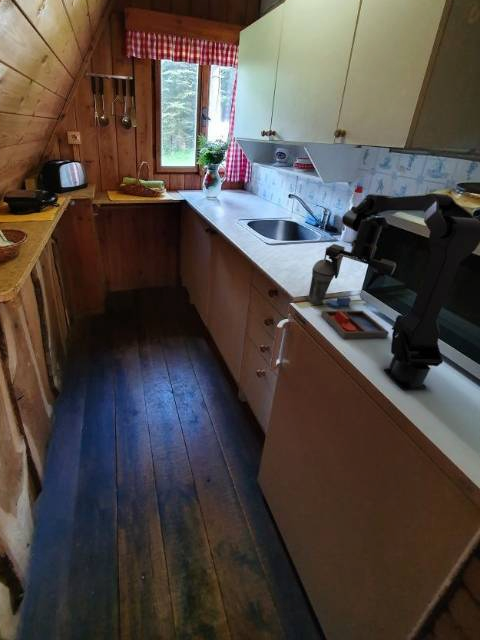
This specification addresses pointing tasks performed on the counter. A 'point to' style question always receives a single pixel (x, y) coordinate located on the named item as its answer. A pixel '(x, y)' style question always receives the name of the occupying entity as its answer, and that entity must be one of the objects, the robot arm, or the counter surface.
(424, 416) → the counter surface
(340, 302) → the blue spoon
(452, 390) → the counter surface
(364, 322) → the tray
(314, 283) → the beverage cup
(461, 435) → the counter surface
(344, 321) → the red spoon
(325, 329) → the counter surface
